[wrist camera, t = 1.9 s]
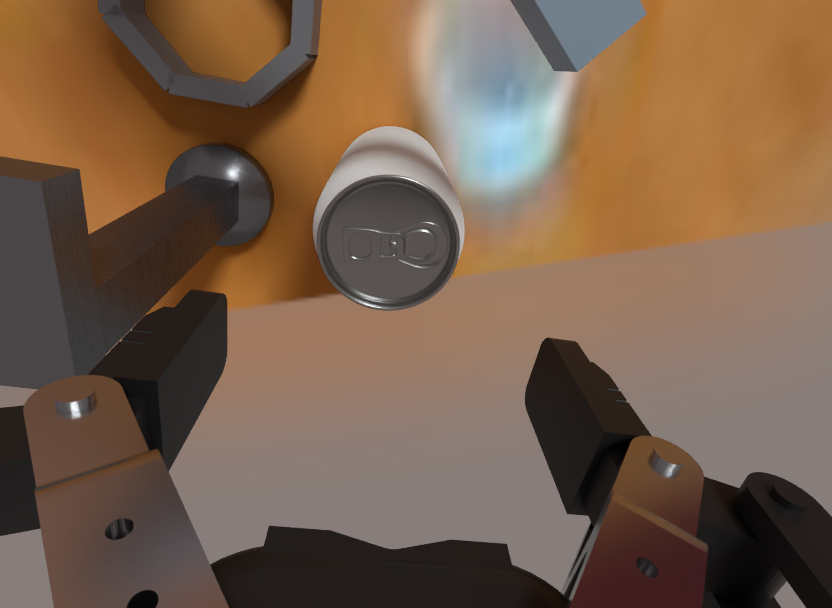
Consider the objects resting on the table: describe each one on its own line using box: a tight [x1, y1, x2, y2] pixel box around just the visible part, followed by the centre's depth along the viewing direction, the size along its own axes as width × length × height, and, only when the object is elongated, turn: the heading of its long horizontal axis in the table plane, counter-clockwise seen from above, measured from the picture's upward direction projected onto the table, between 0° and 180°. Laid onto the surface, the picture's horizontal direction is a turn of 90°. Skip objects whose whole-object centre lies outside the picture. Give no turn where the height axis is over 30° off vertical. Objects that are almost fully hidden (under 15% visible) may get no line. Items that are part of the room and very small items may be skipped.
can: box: [313, 126, 465, 311], centre depth 24 cm, size 6×6×12 cm
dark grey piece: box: [0, 143, 274, 389], centre depth 21 cm, size 6×8×18 cm
